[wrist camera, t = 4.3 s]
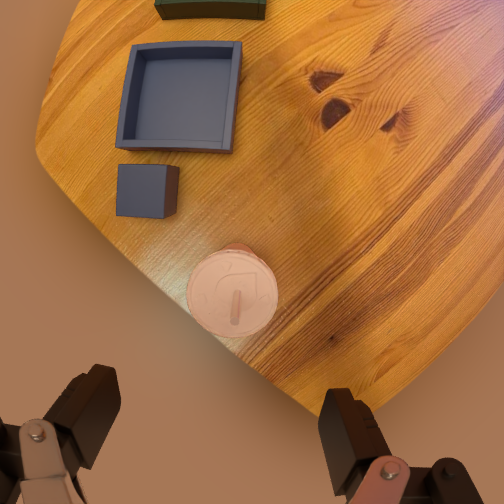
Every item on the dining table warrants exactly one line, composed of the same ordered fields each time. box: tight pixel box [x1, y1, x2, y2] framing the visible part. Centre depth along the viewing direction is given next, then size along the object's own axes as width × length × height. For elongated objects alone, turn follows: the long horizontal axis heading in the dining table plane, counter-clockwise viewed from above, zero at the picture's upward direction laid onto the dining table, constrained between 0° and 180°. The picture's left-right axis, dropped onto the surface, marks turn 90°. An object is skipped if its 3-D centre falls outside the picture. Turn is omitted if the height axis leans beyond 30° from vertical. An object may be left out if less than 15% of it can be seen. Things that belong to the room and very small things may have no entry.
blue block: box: [116, 164, 179, 219], centre depth 26 cm, size 4×4×4 cm
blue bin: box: [115, 41, 243, 154], centre depth 24 cm, size 10×10×4 cm
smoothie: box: [186, 243, 278, 338], centre depth 23 cm, size 6×6×14 cm
